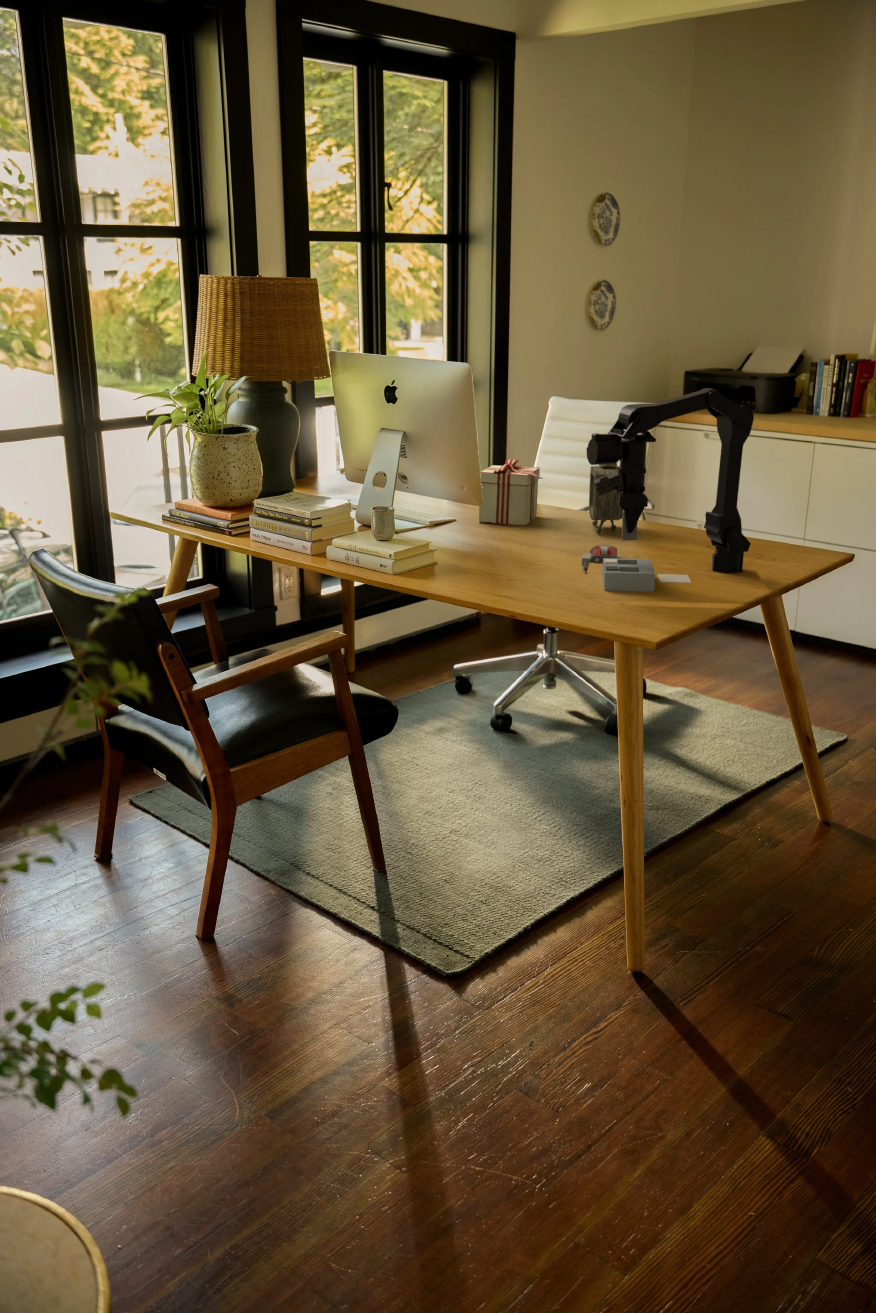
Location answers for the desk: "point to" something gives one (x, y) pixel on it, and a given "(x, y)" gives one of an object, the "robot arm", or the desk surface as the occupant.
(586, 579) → the desk surface
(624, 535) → the plug
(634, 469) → the robot arm
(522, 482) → the gift box
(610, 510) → the tabletop clock
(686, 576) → the plate
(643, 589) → the port block
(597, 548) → the red grey elongated piece
